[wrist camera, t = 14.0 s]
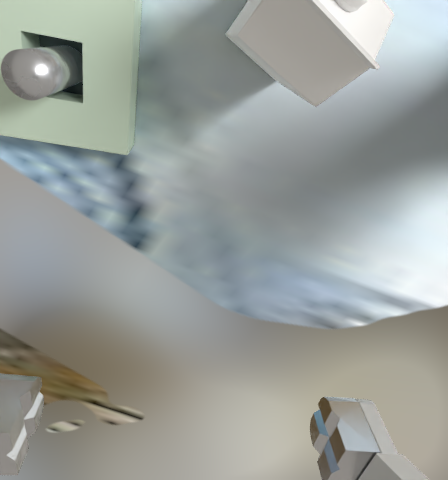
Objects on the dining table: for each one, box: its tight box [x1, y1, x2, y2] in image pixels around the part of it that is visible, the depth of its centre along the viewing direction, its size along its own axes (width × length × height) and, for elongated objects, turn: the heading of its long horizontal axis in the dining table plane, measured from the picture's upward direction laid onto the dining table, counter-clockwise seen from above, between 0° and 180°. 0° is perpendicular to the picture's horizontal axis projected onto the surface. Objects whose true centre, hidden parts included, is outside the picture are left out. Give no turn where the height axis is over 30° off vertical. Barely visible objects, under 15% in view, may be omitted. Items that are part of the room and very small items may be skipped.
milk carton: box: [226, 0, 394, 107], centre depth 27 cm, size 7×7×19 cm
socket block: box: [0, 0, 142, 155], centre depth 34 cm, size 14×14×4 cm
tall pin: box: [1, 45, 83, 100], centre depth 32 cm, size 4×4×10 cm
